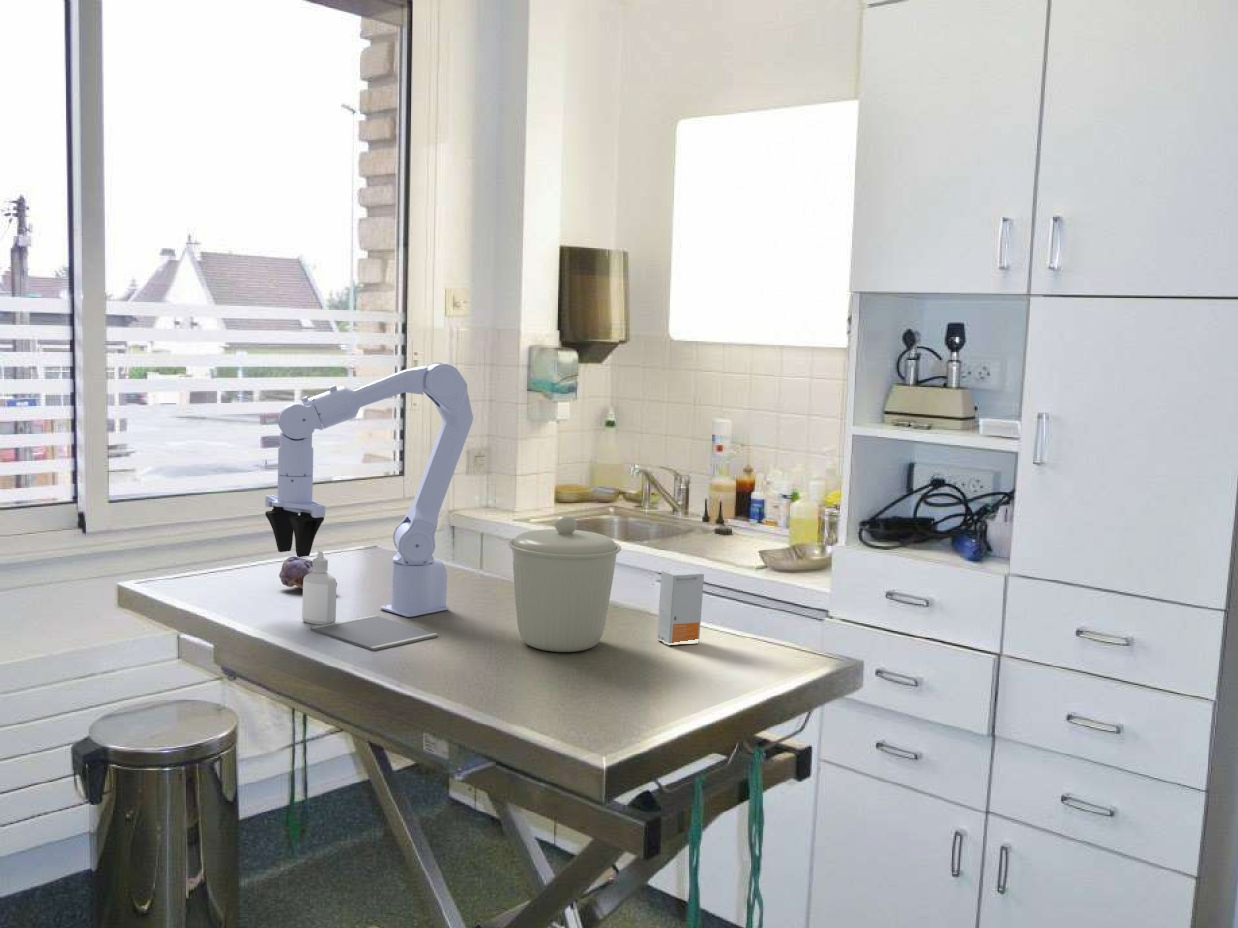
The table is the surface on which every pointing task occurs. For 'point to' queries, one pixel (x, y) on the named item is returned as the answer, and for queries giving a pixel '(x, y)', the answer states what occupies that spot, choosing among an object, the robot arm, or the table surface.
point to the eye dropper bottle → (319, 594)
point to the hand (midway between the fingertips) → (293, 553)
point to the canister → (562, 585)
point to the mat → (374, 632)
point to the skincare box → (680, 605)
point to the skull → (295, 571)
